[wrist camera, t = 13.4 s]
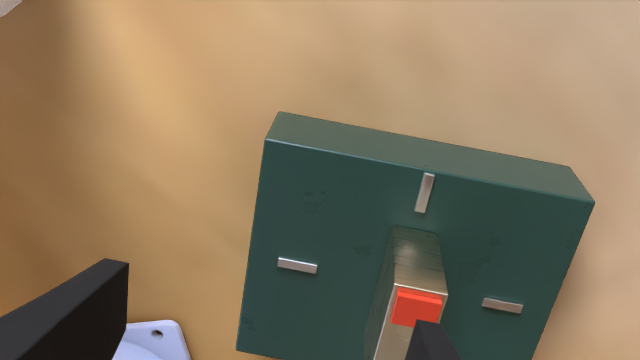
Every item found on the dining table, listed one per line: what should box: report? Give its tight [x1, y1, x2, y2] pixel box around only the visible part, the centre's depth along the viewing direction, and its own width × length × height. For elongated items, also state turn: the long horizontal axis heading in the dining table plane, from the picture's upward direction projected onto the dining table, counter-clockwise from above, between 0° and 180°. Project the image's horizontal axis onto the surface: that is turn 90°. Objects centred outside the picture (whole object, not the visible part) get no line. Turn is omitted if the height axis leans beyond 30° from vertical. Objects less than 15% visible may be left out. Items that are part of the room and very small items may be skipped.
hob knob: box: [363, 225, 448, 360], centre depth 20 cm, size 5×2×4 cm, turn 170°
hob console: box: [236, 112, 595, 360], centre depth 23 cm, size 11×9×3 cm
